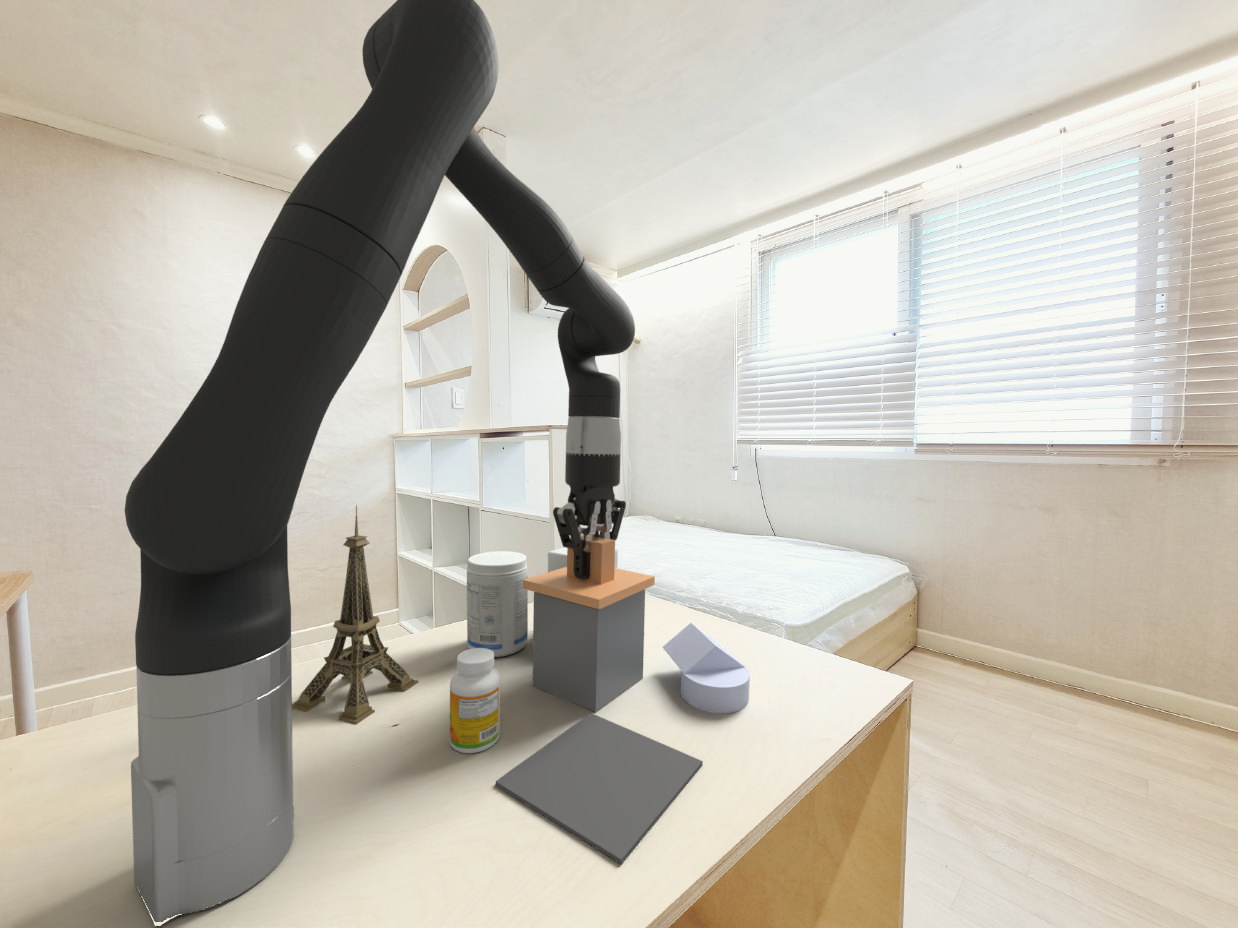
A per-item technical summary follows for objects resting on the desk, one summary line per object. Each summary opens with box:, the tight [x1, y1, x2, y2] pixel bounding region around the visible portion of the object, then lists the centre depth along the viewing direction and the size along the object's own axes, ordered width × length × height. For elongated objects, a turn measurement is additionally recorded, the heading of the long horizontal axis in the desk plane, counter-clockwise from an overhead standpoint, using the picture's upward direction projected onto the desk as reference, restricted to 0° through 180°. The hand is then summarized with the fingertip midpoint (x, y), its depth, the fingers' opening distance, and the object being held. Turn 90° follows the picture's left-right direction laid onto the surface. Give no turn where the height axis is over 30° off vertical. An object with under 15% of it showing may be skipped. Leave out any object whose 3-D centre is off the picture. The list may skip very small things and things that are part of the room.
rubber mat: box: [495, 712, 703, 865], centre depth 50 cm, size 15×15×1 cm
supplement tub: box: [466, 550, 529, 658], centre depth 79 cm, size 10×10×15 cm
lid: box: [523, 534, 656, 609], centre depth 68 cm, size 13×13×8 cm
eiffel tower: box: [292, 504, 419, 725], centre depth 63 cm, size 11×11×25 cm
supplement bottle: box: [449, 648, 501, 754], centre depth 55 cm, size 5×5×10 cm
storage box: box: [532, 589, 646, 713], centre depth 68 cm, size 11×11×13 cm
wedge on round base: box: [662, 622, 751, 714], centre depth 68 cm, size 9×7×13 cm
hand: (590, 574), depth 68 cm, fingers closed on lid, 3 cm apart
